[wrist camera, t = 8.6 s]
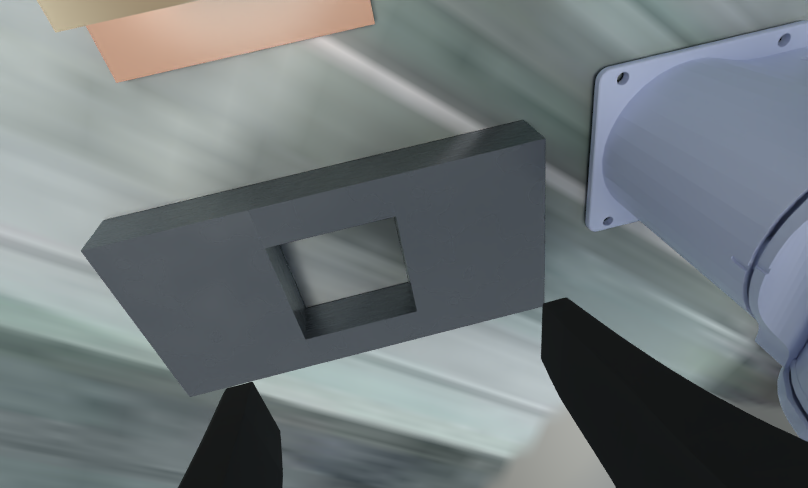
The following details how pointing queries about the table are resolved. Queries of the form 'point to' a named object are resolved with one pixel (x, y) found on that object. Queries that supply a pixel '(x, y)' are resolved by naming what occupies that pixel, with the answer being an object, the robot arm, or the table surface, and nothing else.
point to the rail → (323, 213)
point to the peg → (97, 10)
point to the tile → (217, 31)
